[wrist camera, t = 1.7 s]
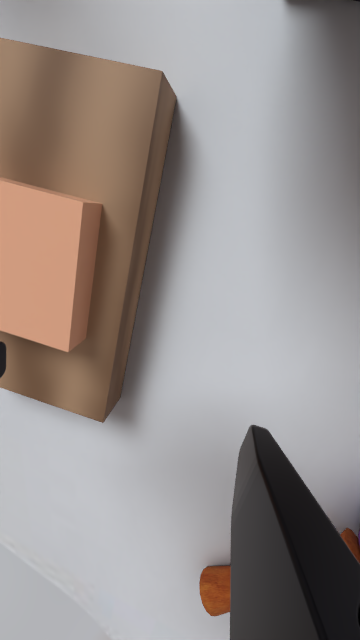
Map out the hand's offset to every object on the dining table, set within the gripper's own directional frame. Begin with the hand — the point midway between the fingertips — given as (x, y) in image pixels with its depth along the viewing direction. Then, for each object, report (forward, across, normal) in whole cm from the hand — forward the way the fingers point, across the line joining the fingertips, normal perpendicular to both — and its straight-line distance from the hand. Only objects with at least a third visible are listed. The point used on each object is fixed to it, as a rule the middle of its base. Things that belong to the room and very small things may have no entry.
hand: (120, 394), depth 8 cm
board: (+12, +9, 0) cm, 15 cm away
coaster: (+9, +9, 0) cm, 13 cm away
